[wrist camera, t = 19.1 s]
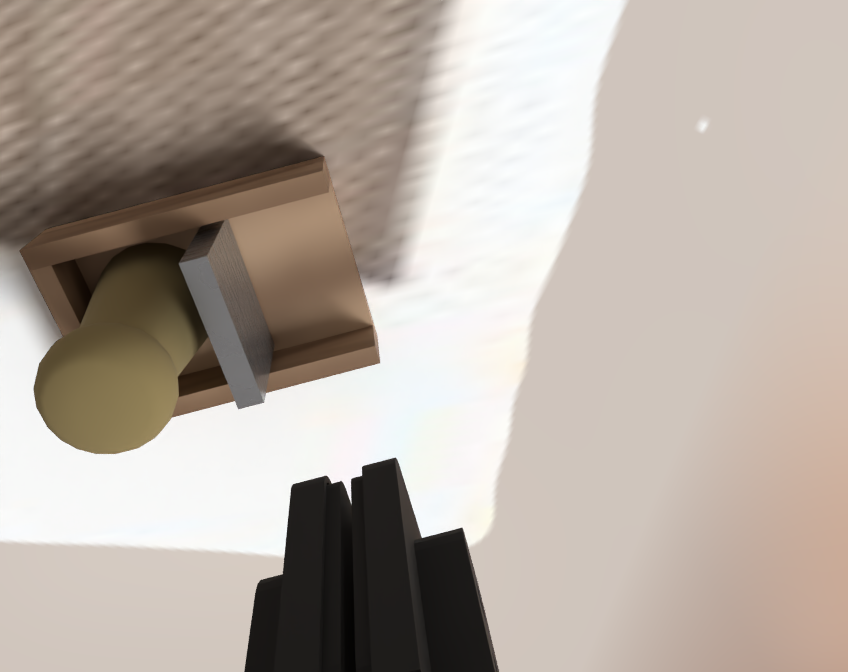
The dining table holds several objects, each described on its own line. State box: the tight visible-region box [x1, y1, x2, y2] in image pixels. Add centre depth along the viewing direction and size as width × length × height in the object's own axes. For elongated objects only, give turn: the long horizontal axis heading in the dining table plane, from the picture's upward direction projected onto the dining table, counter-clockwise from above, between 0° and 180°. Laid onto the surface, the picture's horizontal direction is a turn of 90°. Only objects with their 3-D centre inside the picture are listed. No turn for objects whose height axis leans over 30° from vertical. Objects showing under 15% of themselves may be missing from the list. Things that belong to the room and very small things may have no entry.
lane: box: [20, 156, 380, 418], centre depth 36 cm, size 10×14×3 cm
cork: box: [34, 243, 209, 454], centre depth 32 cm, size 6×6×11 cm
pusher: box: [179, 219, 275, 409], centre depth 34 cm, size 7×1×6 cm, turn 13°
